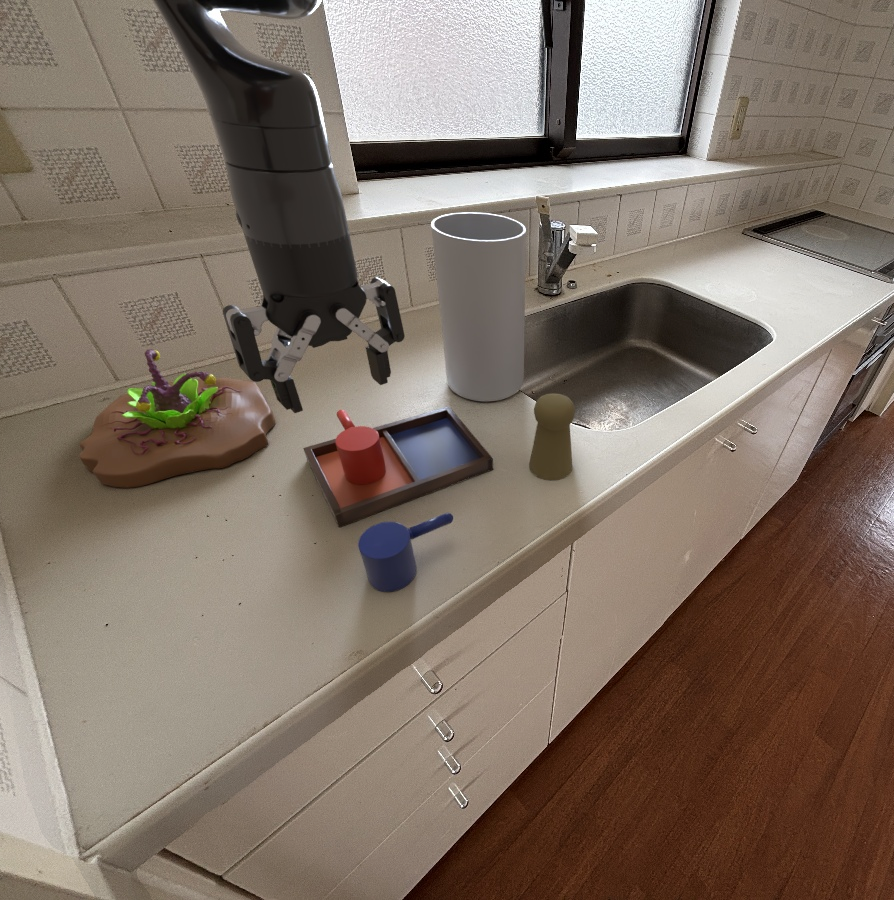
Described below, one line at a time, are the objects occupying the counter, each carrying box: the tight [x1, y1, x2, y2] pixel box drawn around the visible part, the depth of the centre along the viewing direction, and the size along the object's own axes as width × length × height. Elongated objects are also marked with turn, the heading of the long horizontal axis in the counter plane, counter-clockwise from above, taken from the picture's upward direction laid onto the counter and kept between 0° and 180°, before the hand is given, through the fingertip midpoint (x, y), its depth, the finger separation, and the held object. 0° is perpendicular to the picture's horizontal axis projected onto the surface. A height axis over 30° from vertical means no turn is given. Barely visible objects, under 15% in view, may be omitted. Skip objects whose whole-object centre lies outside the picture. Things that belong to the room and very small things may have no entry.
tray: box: [303, 406, 494, 528], centre depth 65 cm, size 20×14×2 cm
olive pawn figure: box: [528, 392, 576, 481], centre depth 65 cm, size 6×6×11 cm
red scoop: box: [335, 409, 386, 485], centre depth 62 cm, size 10×5×6 cm, turn 37°
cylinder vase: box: [430, 211, 527, 402], centre depth 75 cm, size 12×12×25 cm
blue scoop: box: [357, 512, 455, 593], centre depth 52 cm, size 10×5×6 cm, turn 127°
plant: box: [78, 348, 276, 489], centre depth 62 cm, size 20×20×11 cm
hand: (340, 394), depth 50 cm, fingers open, 8 cm apart
